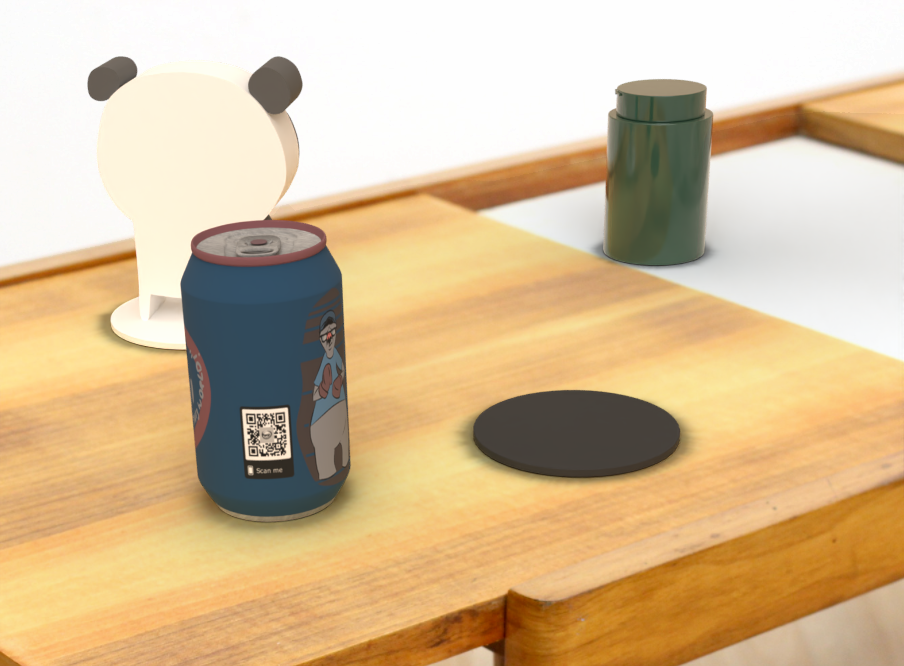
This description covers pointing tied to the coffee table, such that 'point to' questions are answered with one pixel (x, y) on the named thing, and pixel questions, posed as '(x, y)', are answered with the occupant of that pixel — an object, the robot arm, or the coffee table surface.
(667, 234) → the jar
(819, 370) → the coffee table surface
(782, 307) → the coffee table surface
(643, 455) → the coaster
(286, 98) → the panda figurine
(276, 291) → the soda can
